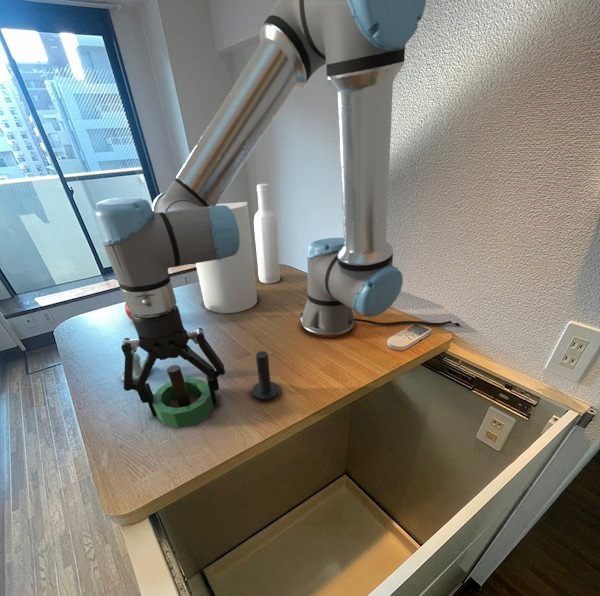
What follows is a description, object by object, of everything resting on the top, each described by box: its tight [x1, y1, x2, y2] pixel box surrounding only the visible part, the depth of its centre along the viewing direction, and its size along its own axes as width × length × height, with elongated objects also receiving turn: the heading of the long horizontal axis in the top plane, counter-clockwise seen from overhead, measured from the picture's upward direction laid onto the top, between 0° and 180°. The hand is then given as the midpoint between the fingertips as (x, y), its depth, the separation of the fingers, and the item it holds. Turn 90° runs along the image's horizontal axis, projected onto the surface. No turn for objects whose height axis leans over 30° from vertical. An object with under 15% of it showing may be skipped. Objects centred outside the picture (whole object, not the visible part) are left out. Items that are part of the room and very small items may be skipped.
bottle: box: [253, 183, 281, 284], centre depth 112 cm, size 8×8×30 cm
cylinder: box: [195, 201, 258, 314], centre depth 98 cm, size 17×17×28 cm
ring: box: [153, 376, 215, 428], centre depth 67 cm, size 11×11×4 cm
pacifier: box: [121, 352, 146, 381], centre depth 75 cm, size 7×6×6 cm
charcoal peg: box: [251, 350, 280, 403], centre depth 68 cm, size 6×6×10 cm
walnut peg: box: [166, 364, 200, 408], centre depth 65 cm, size 6×6×10 cm
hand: (185, 406), depth 68 cm, fingers closed on ring, 11 cm apart
